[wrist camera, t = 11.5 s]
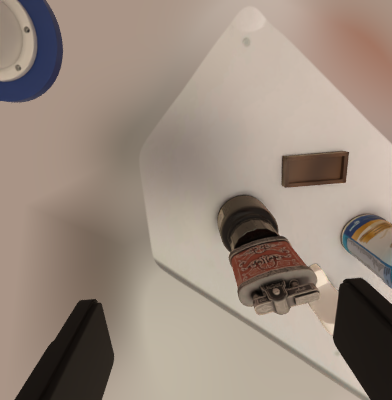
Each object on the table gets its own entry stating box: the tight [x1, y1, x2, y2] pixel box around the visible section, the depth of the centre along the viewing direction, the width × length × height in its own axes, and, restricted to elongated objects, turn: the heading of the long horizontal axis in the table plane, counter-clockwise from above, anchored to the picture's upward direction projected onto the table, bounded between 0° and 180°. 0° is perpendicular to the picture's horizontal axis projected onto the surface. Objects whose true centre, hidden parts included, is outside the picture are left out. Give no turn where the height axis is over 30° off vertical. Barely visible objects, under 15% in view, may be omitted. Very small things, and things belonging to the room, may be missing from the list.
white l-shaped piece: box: [309, 264, 339, 336], centre depth 42 cm, size 5×10×10 cm, turn 33°
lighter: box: [229, 236, 321, 315], centre depth 26 cm, size 8×3×10 cm, turn 109°
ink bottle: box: [218, 195, 280, 253], centre depth 37 cm, size 10×9×12 cm
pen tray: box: [282, 151, 349, 188], centre depth 39 cm, size 10×5×2 cm, turn 95°
